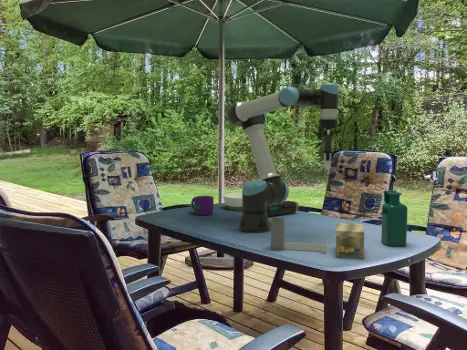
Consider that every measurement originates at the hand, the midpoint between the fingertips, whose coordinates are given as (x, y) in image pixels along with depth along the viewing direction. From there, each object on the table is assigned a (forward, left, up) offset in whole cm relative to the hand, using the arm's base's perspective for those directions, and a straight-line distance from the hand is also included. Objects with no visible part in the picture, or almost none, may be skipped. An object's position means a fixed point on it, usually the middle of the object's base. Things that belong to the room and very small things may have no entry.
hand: (327, 167), depth 194 cm
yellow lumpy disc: (+9, -26, -32) cm, 42 cm away
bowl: (-54, +63, -32) cm, 88 cm away
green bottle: (+28, -8, -32) cm, 43 cm away
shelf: (+10, -26, -31) cm, 42 cm away
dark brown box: (-29, +44, -32) cm, 61 cm away
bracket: (-10, -26, -31) cm, 42 cm away
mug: (-73, +41, -32) cm, 89 cm away
